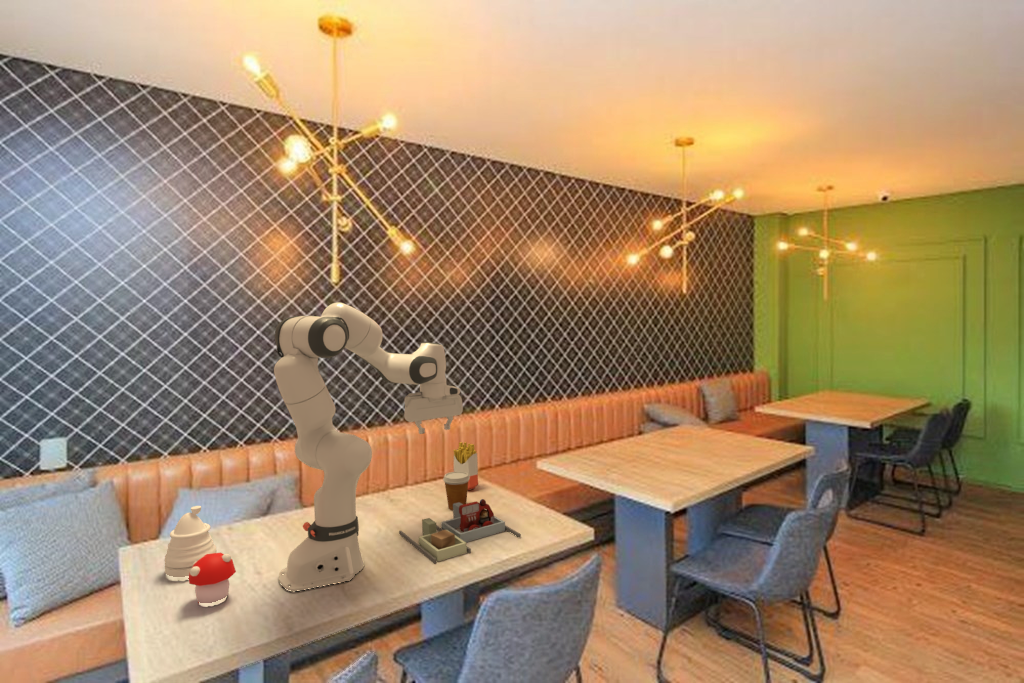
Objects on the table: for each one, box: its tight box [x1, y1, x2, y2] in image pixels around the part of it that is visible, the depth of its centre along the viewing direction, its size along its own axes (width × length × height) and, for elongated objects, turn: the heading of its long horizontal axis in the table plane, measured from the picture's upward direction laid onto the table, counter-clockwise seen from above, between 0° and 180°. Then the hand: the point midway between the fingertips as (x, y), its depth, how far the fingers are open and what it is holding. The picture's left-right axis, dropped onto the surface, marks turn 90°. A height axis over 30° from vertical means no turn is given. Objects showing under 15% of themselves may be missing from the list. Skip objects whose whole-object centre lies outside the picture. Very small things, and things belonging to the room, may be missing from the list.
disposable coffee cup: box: [442, 471, 470, 511], centre depth 205 cm, size 10×10×12 cm
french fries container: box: [452, 441, 479, 491], centre depth 226 cm, size 5×11×18 cm, turn 40°
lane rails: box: [398, 524, 522, 565], centre depth 180 cm, size 30×26×1 cm
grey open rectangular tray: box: [440, 502, 506, 543], centre depth 186 cm, size 17×18×6 cm
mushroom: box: [188, 552, 237, 603], centre depth 143 cm, size 11×11×12 cm
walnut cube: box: [431, 530, 455, 550], centre depth 170 cm, size 5×5×5 cm
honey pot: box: [164, 505, 218, 577], centre depth 160 cm, size 13×13×18 cm
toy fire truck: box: [459, 498, 495, 533], centre depth 182 cm, size 7×12×10 cm, turn 124°
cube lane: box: [418, 517, 468, 563], centre depth 172 cm, size 10×18×6 cm, turn 34°
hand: (434, 431), depth 190 cm, fingers open, 8 cm apart
